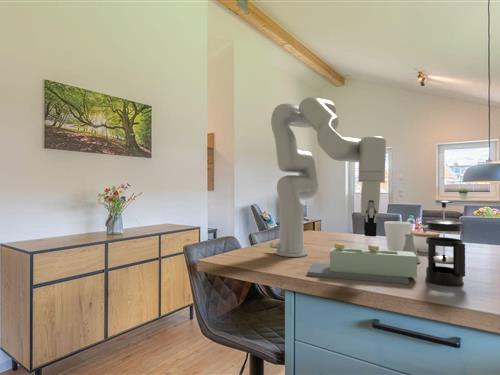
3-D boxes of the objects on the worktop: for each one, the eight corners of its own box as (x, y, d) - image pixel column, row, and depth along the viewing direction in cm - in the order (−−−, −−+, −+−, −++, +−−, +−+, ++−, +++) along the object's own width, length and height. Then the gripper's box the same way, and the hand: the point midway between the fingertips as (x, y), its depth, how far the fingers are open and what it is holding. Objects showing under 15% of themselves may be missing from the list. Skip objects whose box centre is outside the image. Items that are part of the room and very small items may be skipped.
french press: (416, 277, 98) (416, 200, 98) (443, 275, 100) (443, 199, 100) (447, 289, 87) (447, 201, 87) (477, 287, 88) (477, 201, 88)
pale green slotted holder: (329, 271, 101) (329, 251, 101) (331, 265, 108) (331, 247, 108) (416, 277, 93) (416, 256, 93) (413, 271, 100) (413, 251, 100)
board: (307, 275, 100) (307, 246, 100) (313, 266, 112) (313, 239, 112) (409, 284, 91) (409, 251, 91) (403, 272, 104) (403, 243, 104)
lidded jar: (445, 253, 133) (445, 230, 133) (418, 253, 134) (418, 230, 134) (430, 248, 144) (430, 227, 144) (406, 248, 144) (406, 227, 144)
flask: (423, 264, 115) (423, 235, 115) (401, 263, 116) (401, 235, 116) (417, 260, 122) (417, 232, 122) (396, 259, 123) (396, 232, 123)
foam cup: (414, 255, 129) (414, 222, 129) (406, 259, 123) (406, 224, 123) (389, 252, 136) (389, 220, 136) (380, 255, 129) (380, 222, 129)
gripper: (358, 177, 110) (357, 228, 110) (358, 177, 93) (356, 237, 94) (382, 177, 107) (381, 230, 108) (387, 177, 91) (385, 239, 92)
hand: (369, 233), depth 101 cm, fingers open, 9 cm apart
